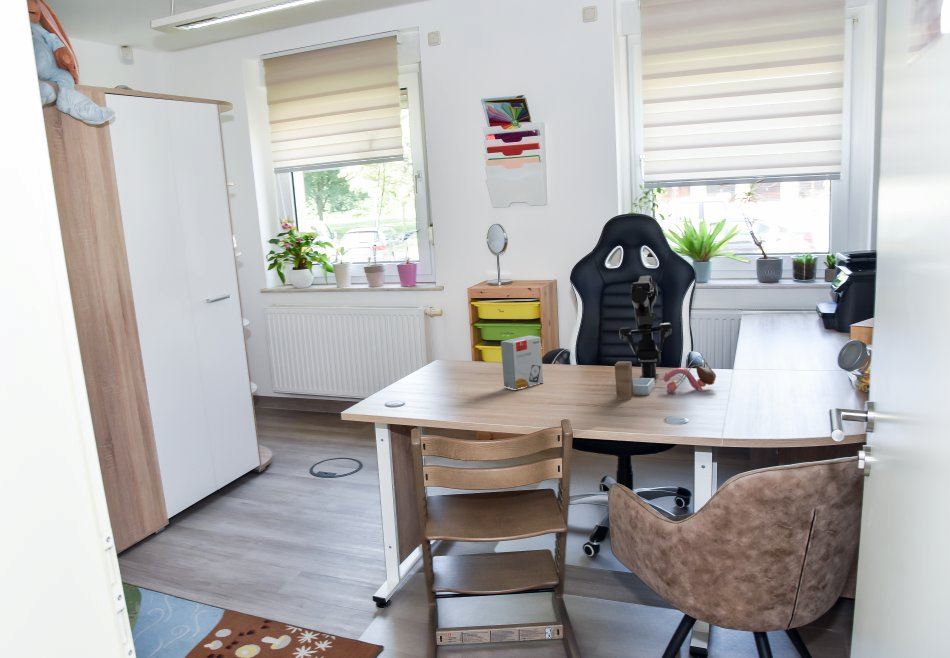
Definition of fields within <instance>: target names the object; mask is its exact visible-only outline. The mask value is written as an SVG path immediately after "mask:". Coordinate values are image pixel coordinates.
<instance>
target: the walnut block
mask: <svg viewBox="0 0 950 658" xmlns="http://www.w3.org/2000/svg"><path fill="white" fill-rule="evenodd" d="M632 365H633V364H632V361H625V360H624V361H623V360H622V361H621V360H619V361H617V362H616V363H615V364H614V376H615V378H614V379H615V392H616V393H615V394H616V400H631V399H632V398H633V397H634V394H633V379H632V378H633V369H632V368H633V366H632Z"/></svg>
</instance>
